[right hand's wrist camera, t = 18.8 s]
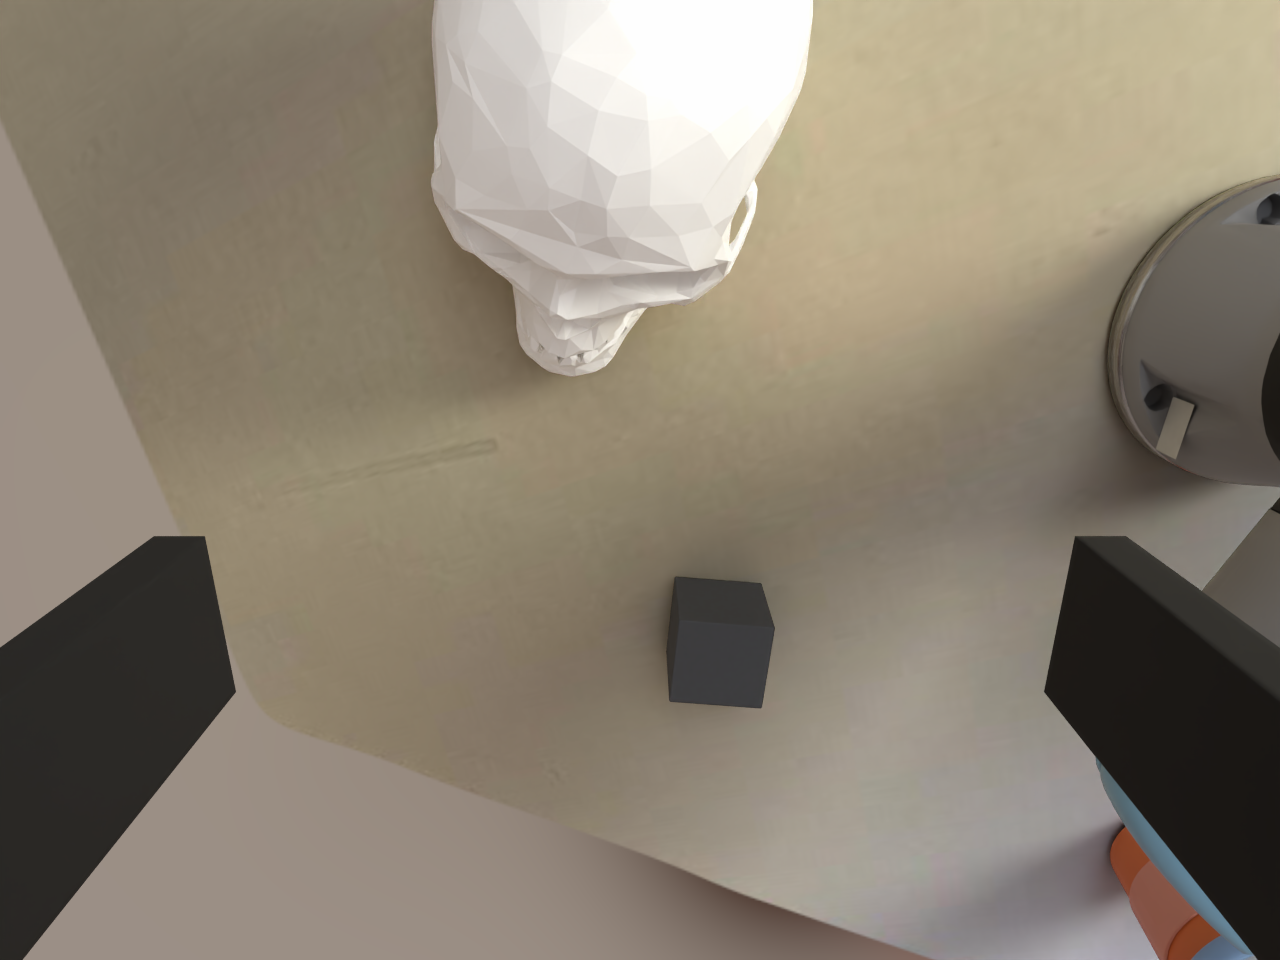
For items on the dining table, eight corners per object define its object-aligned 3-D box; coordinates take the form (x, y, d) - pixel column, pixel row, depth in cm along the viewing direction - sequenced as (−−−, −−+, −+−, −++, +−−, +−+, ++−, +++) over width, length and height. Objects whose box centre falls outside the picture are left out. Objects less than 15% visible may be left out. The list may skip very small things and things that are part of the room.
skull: (447, 350, 42) (357, 444, 27) (495, -159, 34) (407, -417, 19) (701, 391, 43) (748, 503, 28) (799, -91, 36) (935, -286, 21)
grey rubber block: (674, 576, 46) (678, 620, 42) (761, 583, 47) (775, 627, 42) (666, 651, 48) (669, 702, 43) (749, 657, 48) (761, 709, 44)
